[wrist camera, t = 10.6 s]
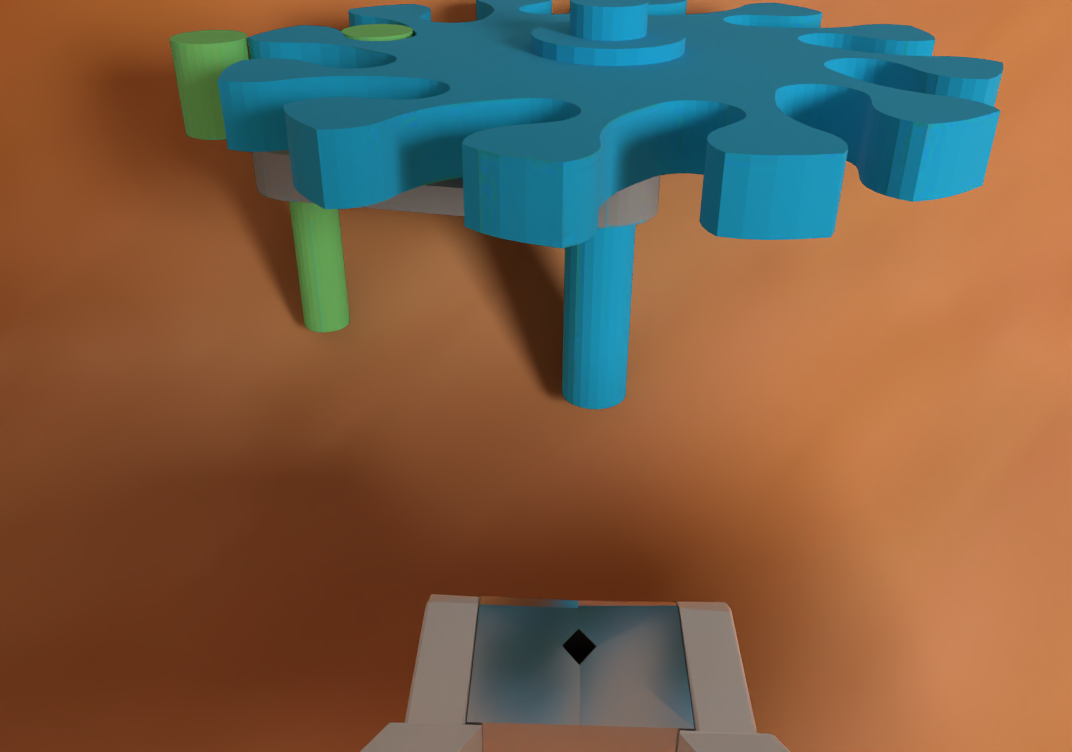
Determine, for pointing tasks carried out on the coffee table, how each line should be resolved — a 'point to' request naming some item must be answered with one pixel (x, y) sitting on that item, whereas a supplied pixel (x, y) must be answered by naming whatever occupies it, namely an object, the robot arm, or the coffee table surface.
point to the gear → (583, 132)
